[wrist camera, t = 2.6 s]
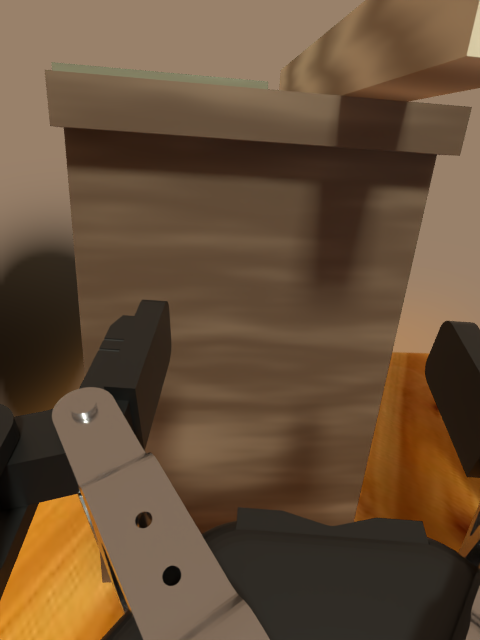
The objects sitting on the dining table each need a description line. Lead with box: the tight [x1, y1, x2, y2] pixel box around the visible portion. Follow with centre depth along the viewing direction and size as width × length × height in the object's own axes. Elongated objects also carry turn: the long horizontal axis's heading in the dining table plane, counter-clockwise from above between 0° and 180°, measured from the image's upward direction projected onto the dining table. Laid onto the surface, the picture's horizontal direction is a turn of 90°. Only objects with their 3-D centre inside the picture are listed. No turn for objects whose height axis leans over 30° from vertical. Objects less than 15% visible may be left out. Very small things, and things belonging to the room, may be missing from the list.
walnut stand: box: [45, 63, 472, 582], centre depth 31 cm, size 16×18×32 cm
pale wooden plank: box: [279, 0, 480, 102], centre depth 20 cm, size 24×3×3 cm, turn 6°
